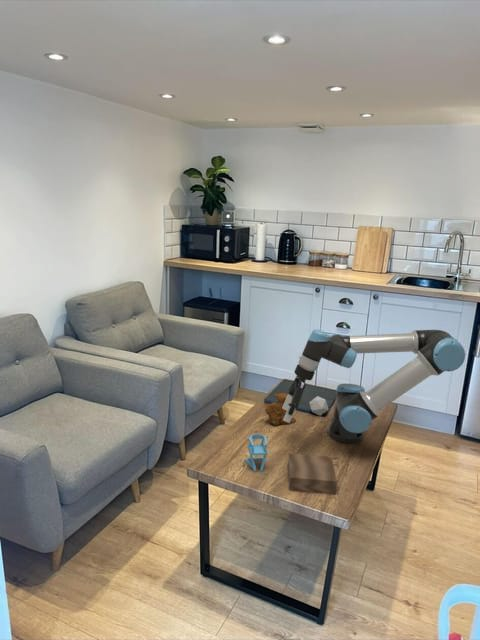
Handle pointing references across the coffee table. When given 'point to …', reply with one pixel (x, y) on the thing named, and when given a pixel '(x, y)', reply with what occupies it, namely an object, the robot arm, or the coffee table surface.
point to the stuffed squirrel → (277, 410)
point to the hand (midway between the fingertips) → (285, 415)
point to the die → (318, 405)
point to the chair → (257, 451)
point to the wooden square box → (311, 473)
